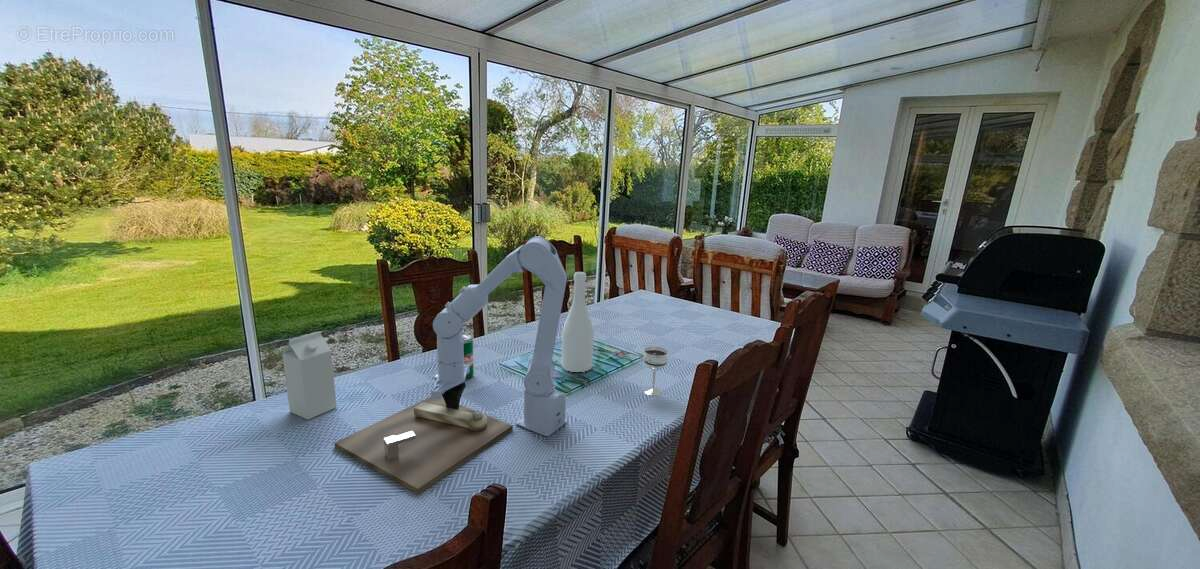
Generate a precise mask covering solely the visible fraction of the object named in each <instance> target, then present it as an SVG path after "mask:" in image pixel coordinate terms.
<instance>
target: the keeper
mask: <svg viewBox="0 0 1200 569" xmlns="http://www.w3.org/2000/svg"><path fill="white" fill-rule="evenodd" d="M413 439H416V435H415V434H414V432H413V431H410V432H407V433H404V434H400V435H397V436H395V435H392V436H389V437H386V438H384V449H385V456H386V458H387V459H388V461H389V460H392V459H395V458H398V457H399V450H398V444H401V443H404V442H407V441H410V440H413Z"/></svg>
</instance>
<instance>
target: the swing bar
mask: <svg viewBox="0 0 1200 569" xmlns="http://www.w3.org/2000/svg"><path fill="white" fill-rule="evenodd" d="M484 414H485V413H483V411H482V410H475V412H473V413H470V412H465V411H461V410H456V409H452V408H446V407H443V406H438V405H433V404H429V403H424V402H422V403H420V404H419V405H417V406H416V407H414V416H418V417H422V418H427V419H431V420H435V421H440V422H444V423H448V424H453V425H457V426H461V427H466V428H469V429H470V430H473V431H480V430H483V429H485V428H486V426H487V417H486V415H487V414H485V415H484Z"/></svg>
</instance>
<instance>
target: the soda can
mask: <svg viewBox="0 0 1200 569" xmlns="http://www.w3.org/2000/svg"><path fill="white" fill-rule="evenodd" d="M463 346H464V365H469V366H470V372H469V373H468V374H466V378H465V380H468V379H470V378H472V377H473V376H474V371H475V370H474V368H475V367H474V339H473V338H472V335H471V334H463Z"/></svg>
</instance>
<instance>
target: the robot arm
mask: <svg viewBox="0 0 1200 569" xmlns="http://www.w3.org/2000/svg"><path fill="white" fill-rule="evenodd" d="M525 270H527V271H529V272H531V273H532V274H533V275H535V276H537V277H538V278H539V280H540V281H541V282H542V283H543V285H544V291H543V298H542V303H541V310H540V314H539V318H538V319H539V320H538V324H537V325H538V326H537V333H536V337H535V343H534V349H533V354H532V358H530V360H529V361H528V367H527V371H526V374H525V376H524V379H523V385H524V386H523V417H522V418H520V419H519V420H517V421H516V422H515V425H517V426H518V427H522V428H524V429H527V430H529V431H531V432H535V433H536V434H540V435H543V436H545V437H549V436H551V435H552V434H553V433H554V432H556V431H557V430H558V429H560V428H561V427H562V426H564V425H565V424H566V423H568V422H567V421H568V420H567V419H566V397H565V395H564V394H562V393H561V392H559V391H558V390H557V389H556V384H555V383H554V381H553V377H554V376H553V375H554V371H555V363H554V357H553V356H554V353H555V352H554V350H555V346H556V340H557V336H558V335H557V334H558V329H559V325H560V319H561V318H560V317H561V314H562V308H563V301H564V296H565V291H566V287H567V281H568V275H567V273H566V270H565V268H564V266H563V263H562V262H561V259H560V257H559V254H558V250H557V249H556V247H555V246H554V245H553V244H552V243H551V241H549V240H548V239H547V238H545V237H543V236H541V235H539V236H533V237H531V238H529V239H527V241H526V243H525V244H521V245H520V246H518V247H517V248H516V249H514V250H513V251H512V252H510V253H509V254H508V255H507V256H506V257H505V258H503V260H501V262H499V264H497V266H496V267H494V269H492V270H491V272H490V273H489V274H488V275H487V276H486V277H484V279H483V280H482V281H480V282H479V283H478V284H469V285H467V286H465V285H464V286H462V287H461V289H459V290H458V291H459V294H458V295H457V296H456V297H454V299H453V300H452V301H451V302H450V301H447V302H446V304H445V305H444V307H445V308H443V309H442V310H441V311H440V312H439V313H437V314H436V316H435V317H434V319H433V321H432V330H433V331H434V333H435V334H436V349H437V353H436V354H437V373H436V374H435V375H434V376H433V380H434V381H435V380H436V381H435V384H434V387H433V388H432V389H431V390H430V395H431V396H430V397H431V398H432V399H439V400H440V399H441V398H443V399H444V401H445V403H446V408H452V409H456V410H459V405H460V402H461V398H462V395H463V393H464V390H465V389H466V387H467V383H466V382H465V381H466V379H465V378H466V374H468V373H469V372H470V366H469V365H464V346H463V335H464V334H463V327H464V326H465V324H466V323H468V322H470V321H471V320H472V319H473V317H474V318H475V316H476V315H477V314H478V313H479V312H480V311H481V310H482V309H484V307H486V306H487V305H488V304H489V294H491V293H492V292H493V291H495V289H496V288H498V286H500V285H501V284H502V283H503V282H504V281H505V280H506V279H508V278H509V277H510V276H512V274H517V273H521V274H522V273H524V272H525Z"/></svg>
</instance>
